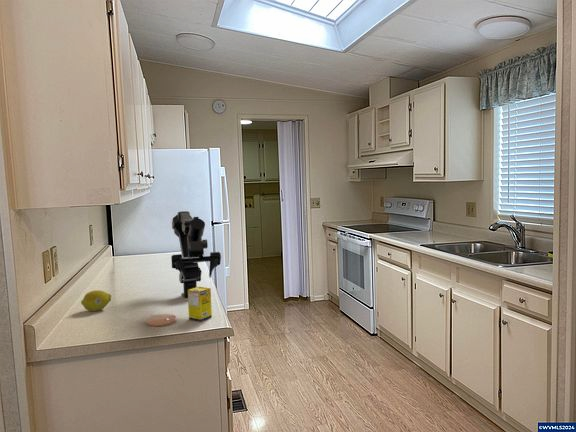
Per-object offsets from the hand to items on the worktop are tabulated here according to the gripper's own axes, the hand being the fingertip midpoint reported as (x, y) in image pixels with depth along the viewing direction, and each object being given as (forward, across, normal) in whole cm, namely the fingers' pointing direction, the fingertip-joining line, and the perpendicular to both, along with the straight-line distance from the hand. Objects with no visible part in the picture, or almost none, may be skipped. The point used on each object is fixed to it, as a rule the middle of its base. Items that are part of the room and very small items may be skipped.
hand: (197, 278), depth 160 cm
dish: (+14, -14, +4) cm, 20 cm away
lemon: (-2, -38, +21) cm, 44 cm away
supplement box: (+15, 0, +4) cm, 15 cm away
